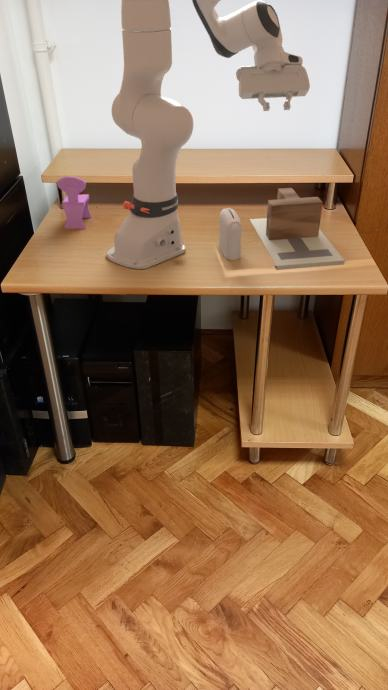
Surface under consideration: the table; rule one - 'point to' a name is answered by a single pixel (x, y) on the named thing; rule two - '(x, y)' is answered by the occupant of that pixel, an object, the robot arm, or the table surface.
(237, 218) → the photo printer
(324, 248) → the board
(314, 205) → the t block
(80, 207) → the toy chair
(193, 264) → the table surface
